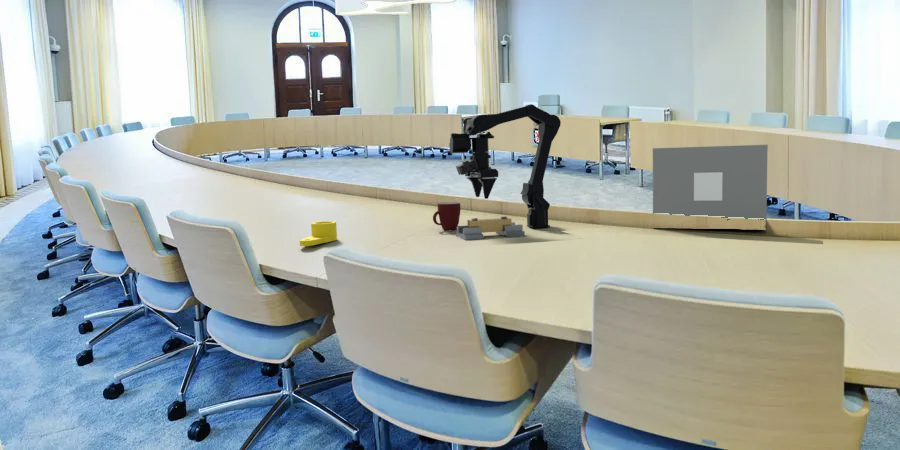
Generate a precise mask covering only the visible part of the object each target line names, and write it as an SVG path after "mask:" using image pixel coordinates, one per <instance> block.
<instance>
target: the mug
mask: <svg viewBox="0 0 900 450" xmlns="http://www.w3.org/2000/svg"><path fill="white" fill-rule="evenodd" d="M460 215H461V202H459V201H458V202H457V201H456V202H455V201H449V202H439V203H437V211H435V212H434V214H433V216H432V221H433V223H434V224H435V225H436V226H441V228H442V230H443V231H447V230H448V231H449V230H451V231H455V230H456V231H457V226H459V224H460V218H461V217H460ZM437 216H438V218H439V222H438V221H437Z"/></svg>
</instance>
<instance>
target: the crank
mask: <svg viewBox="0 0 900 450" xmlns="http://www.w3.org/2000/svg"><path fill="white" fill-rule="evenodd" d="M310 227H311V229H310V230H311V235H310V236H307V237H304V238H302V239H300V240H299V246H300V247H312V246H315V245H321V244H325V243H329V242H333V241H337V240H338V231H337V230H338V229H337V221H334V220H332V221H331V220H326V221H313V222H311V223H310Z"/></svg>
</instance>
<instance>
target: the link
mask: <svg viewBox="0 0 900 450" xmlns="http://www.w3.org/2000/svg"><path fill="white" fill-rule="evenodd" d="M466 222H467V225H468V228H475V227H482V234H483V233H484V234H486V233H496V232H501V231H504V226H505V225H512V222H513V221H512V218H511V217H508V216H504V215H503V216H500V218H499V217H498V218H497V217H496V218H482V219H479V218H478V217H473V218H471V219H467V221H466Z"/></svg>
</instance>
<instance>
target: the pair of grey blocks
mask: <svg viewBox="0 0 900 450" xmlns="http://www.w3.org/2000/svg"><path fill="white" fill-rule="evenodd" d="M523 225H524V224H516V222H515V221H512V225H505V226H504V231H501V232H495V234H498V235H500V236H503V237H505V238H517V237H525V236H526V235H525V230H523V228H524V227H523ZM455 236H456V237H458V238H460V239H462V240H464V241H472V240H484V234H483V233H482V227H475V228H468V224H467V225H465V224H464V225H458V226H457V229H456V231H455Z"/></svg>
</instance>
